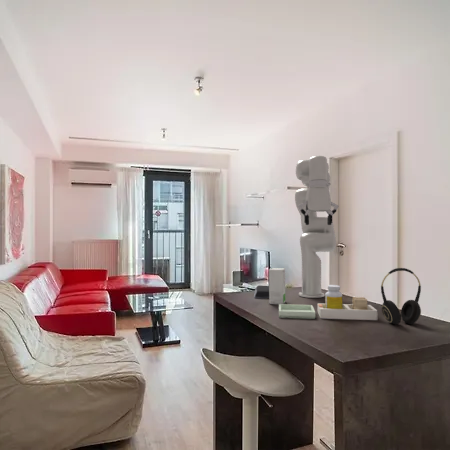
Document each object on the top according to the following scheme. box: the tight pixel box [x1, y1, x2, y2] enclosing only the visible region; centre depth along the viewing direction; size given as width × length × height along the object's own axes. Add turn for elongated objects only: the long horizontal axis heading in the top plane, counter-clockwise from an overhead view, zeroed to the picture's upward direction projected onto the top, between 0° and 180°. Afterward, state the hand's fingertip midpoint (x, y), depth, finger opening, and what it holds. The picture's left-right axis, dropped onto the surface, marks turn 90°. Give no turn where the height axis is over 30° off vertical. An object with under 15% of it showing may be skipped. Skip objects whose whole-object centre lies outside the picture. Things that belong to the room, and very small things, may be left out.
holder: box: [317, 303, 378, 321], centre depth 143 cm, size 10×21×4 cm, turn 82°
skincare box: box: [268, 267, 286, 306], centre depth 168 cm, size 8×7×16 cm
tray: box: [278, 303, 316, 320], centre depth 146 cm, size 13×14×2 cm
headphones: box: [380, 267, 422, 325], centre depth 132 cm, size 9×15×20 cm, turn 95°
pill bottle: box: [324, 284, 344, 309], centre depth 144 cm, size 6×6×12 cm
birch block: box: [352, 296, 368, 310], centre depth 142 cm, size 4×4×7 cm
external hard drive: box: [253, 284, 269, 299], centre depth 187 cm, size 13×19×4 cm
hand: (318, 224), depth 158 cm, fingers open, 9 cm apart
